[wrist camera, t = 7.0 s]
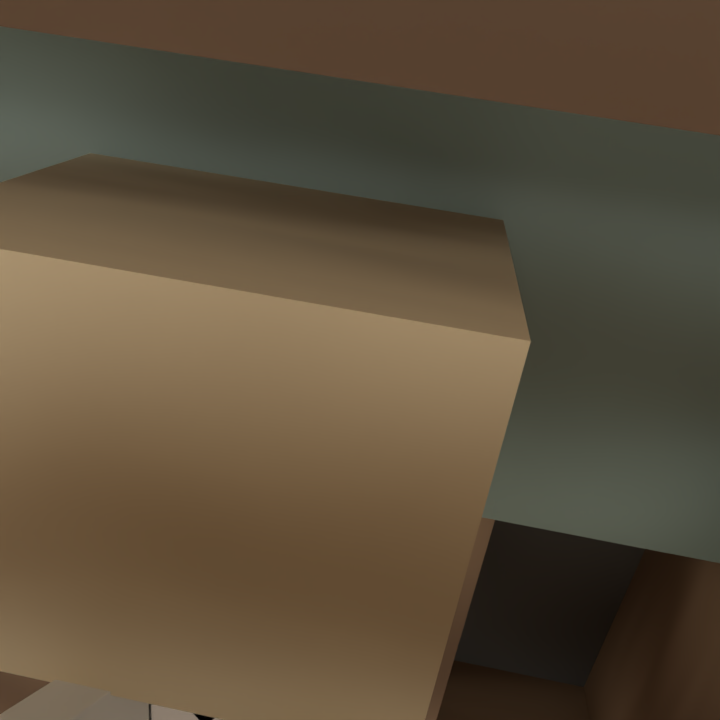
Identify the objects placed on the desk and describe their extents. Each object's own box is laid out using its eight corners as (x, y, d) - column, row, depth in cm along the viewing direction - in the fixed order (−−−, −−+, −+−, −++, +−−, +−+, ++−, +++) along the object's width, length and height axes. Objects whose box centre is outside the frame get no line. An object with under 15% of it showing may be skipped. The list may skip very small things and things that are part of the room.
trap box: (-163, -98, 11) (-946, -261, 5) (925, 56, 10) (1685, 94, 4) (-21, 601, 19) (-254, 875, 13) (597, 731, 18) (670, 1102, 12)
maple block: (90, 152, 9) (-134, 226, 6) (503, 219, 9) (530, 341, 5) (111, 480, 12) (-32, 664, 9) (427, 542, 12) (413, 761, 8)
